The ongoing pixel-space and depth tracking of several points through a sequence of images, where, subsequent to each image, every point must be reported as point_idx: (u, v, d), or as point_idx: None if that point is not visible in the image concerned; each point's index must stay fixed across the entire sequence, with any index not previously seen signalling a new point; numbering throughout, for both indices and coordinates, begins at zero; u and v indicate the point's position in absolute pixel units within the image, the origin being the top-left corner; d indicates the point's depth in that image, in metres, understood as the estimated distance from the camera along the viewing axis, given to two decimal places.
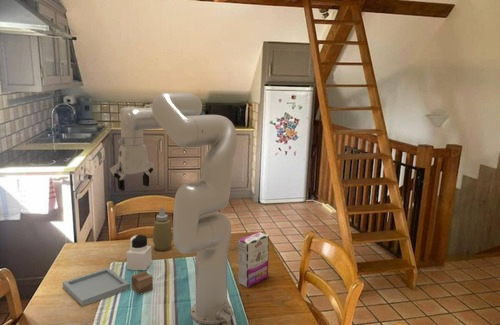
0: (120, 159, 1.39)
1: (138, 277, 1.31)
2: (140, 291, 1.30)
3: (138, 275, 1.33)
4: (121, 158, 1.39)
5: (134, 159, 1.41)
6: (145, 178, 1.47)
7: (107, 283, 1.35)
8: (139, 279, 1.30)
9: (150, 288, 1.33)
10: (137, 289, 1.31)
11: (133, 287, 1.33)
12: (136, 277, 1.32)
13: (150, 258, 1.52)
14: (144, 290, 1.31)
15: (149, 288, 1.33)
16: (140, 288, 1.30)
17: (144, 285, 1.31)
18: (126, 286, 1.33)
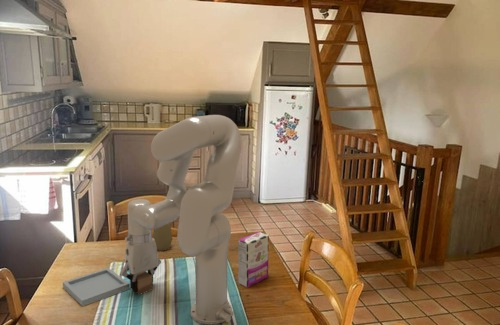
0: (127, 258, 1.28)
1: (138, 277, 1.32)
2: (140, 291, 1.30)
3: (138, 275, 1.33)
4: (128, 257, 1.27)
5: (142, 257, 1.29)
6: None
7: (107, 283, 1.35)
8: (139, 279, 1.30)
9: (150, 288, 1.33)
10: None
11: None
12: (136, 277, 1.32)
13: None
14: (144, 290, 1.31)
15: (149, 288, 1.33)
16: (140, 288, 1.30)
17: (144, 284, 1.31)
18: (126, 286, 1.33)
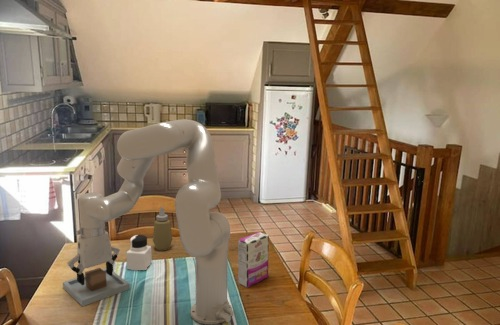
0: (79, 251, 1.27)
1: (91, 274, 1.31)
2: (93, 287, 1.30)
3: (92, 271, 1.33)
4: (80, 250, 1.27)
5: (94, 250, 1.28)
6: (108, 267, 1.35)
7: (107, 283, 1.35)
8: (92, 275, 1.30)
9: (104, 285, 1.33)
10: (90, 285, 1.31)
11: (87, 283, 1.32)
12: (89, 273, 1.31)
13: (150, 258, 1.52)
14: (97, 287, 1.31)
15: (102, 285, 1.32)
16: (92, 285, 1.30)
17: (97, 281, 1.31)
18: (126, 286, 1.33)
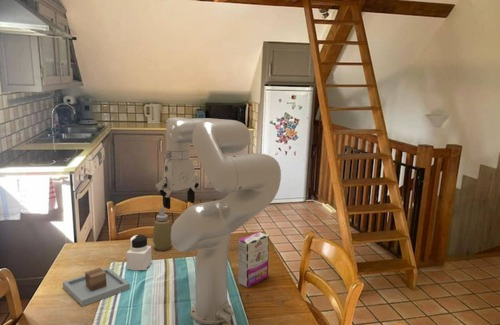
0: (166, 174, 1.27)
1: (91, 274, 1.31)
2: (93, 287, 1.30)
3: (92, 271, 1.33)
4: (167, 173, 1.27)
5: (181, 174, 1.28)
6: (190, 194, 1.35)
7: (107, 283, 1.35)
8: (92, 275, 1.30)
9: (104, 285, 1.33)
10: (90, 285, 1.31)
11: (87, 283, 1.32)
12: (89, 273, 1.31)
13: (150, 258, 1.52)
14: (97, 287, 1.31)
15: (102, 285, 1.32)
16: (92, 285, 1.30)
17: (97, 281, 1.31)
18: (126, 286, 1.33)
